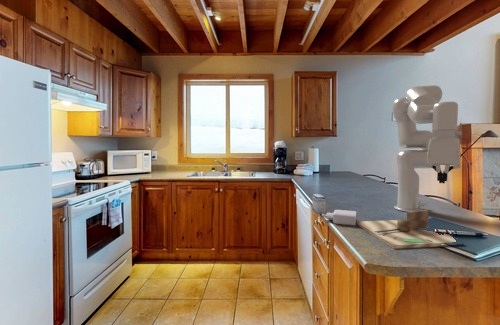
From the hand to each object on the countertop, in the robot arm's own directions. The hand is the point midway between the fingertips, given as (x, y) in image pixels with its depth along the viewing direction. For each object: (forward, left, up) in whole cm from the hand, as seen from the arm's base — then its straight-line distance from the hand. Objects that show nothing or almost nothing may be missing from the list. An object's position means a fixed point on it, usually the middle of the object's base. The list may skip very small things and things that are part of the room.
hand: (442, 182), depth 99 cm
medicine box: (+35, -37, -21) cm, 55 cm away
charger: (+32, -21, -21) cm, 43 cm away
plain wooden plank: (+14, -2, -19) cm, 23 cm away
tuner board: (+13, -2, -20) cm, 24 cm away
